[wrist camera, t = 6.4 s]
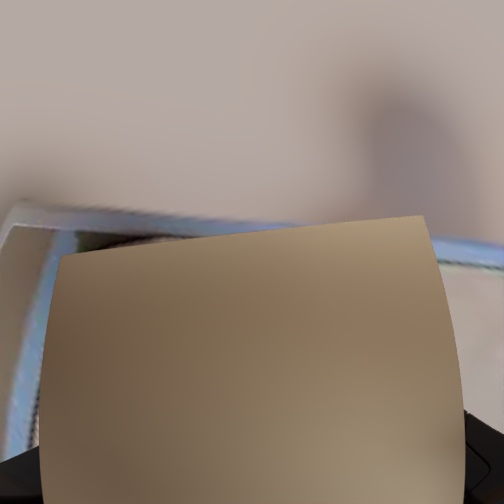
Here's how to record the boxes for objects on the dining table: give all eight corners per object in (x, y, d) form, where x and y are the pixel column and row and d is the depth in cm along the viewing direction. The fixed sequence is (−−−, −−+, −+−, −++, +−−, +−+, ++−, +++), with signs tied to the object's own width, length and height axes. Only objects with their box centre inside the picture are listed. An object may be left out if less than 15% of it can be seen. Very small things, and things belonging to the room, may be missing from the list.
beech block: (343, 461, 11) (445, 596, 1) (235, 467, 12) (57, 570, 2) (337, 361, 14) (422, 215, 3) (233, 368, 15) (61, 256, 4)
